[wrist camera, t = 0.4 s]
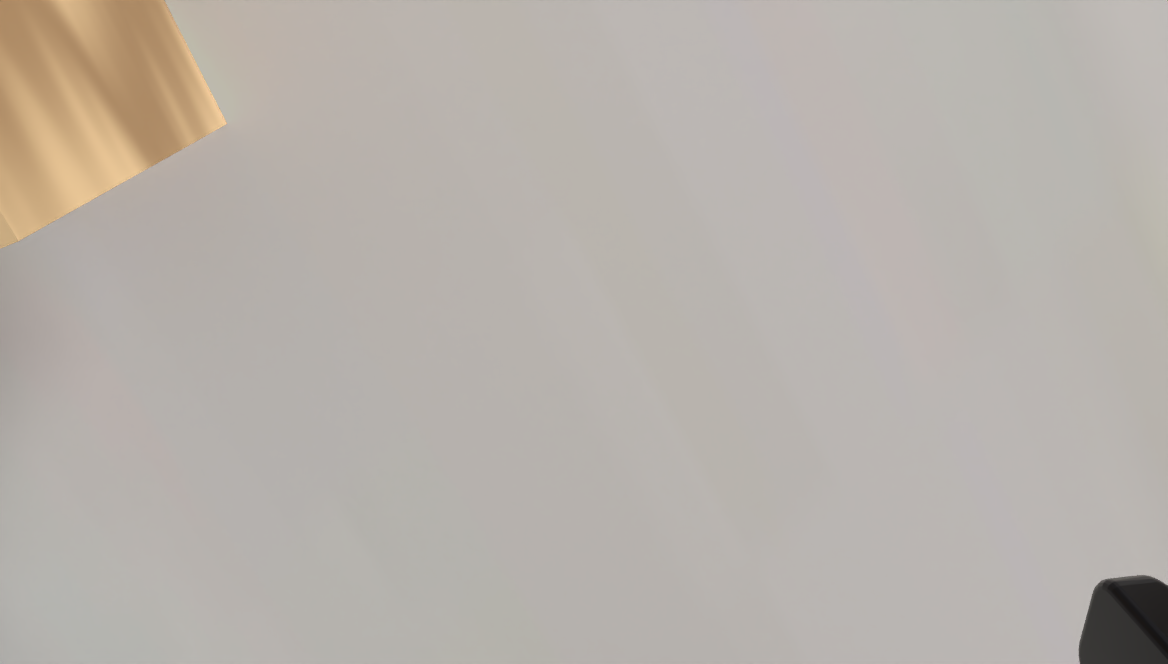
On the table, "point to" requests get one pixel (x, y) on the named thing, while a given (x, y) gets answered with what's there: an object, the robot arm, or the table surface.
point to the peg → (90, 103)
